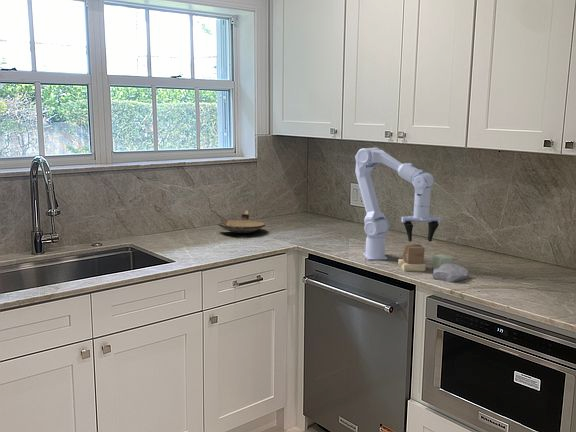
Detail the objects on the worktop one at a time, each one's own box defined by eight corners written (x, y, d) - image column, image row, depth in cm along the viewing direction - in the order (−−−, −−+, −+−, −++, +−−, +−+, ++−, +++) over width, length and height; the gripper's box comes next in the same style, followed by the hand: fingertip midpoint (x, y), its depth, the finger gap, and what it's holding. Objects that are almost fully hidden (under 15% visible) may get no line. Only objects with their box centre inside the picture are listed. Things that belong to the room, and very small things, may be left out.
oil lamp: (208, 235, 264) (207, 219, 263) (239, 224, 291) (239, 209, 290) (250, 240, 255) (250, 223, 254) (278, 228, 282) (278, 213, 281)
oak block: (398, 266, 217) (398, 259, 216) (418, 266, 218) (419, 258, 217) (404, 272, 209) (404, 264, 209) (425, 272, 210) (425, 264, 209)
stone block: (468, 281, 204) (443, 271, 210) (472, 269, 203) (446, 259, 208) (456, 290, 195) (429, 279, 201) (459, 277, 194) (433, 267, 199)
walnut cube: (402, 259, 215) (403, 244, 214) (418, 259, 216) (419, 244, 215) (407, 263, 210) (408, 248, 208) (423, 263, 210) (424, 248, 209)
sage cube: (432, 268, 214) (433, 255, 213) (443, 267, 216) (444, 254, 215) (440, 271, 209) (441, 258, 208) (451, 270, 211) (452, 257, 210)
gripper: (405, 207, 207) (403, 243, 210) (444, 207, 208) (442, 243, 211) (400, 204, 214) (398, 239, 217) (438, 204, 215) (435, 239, 218)
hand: (419, 240), depth 214 cm, fingers open, 7 cm apart
